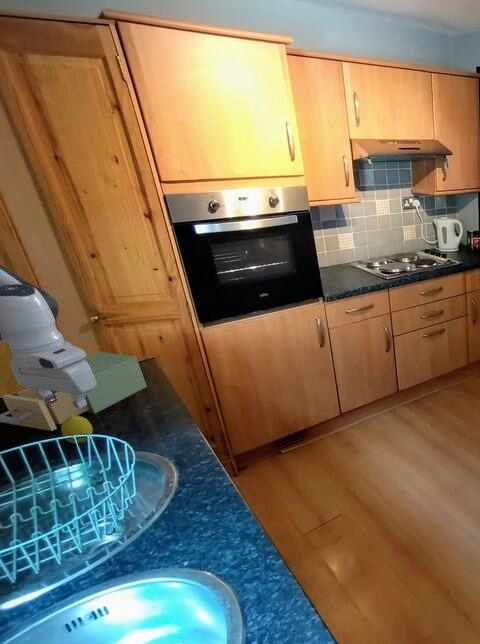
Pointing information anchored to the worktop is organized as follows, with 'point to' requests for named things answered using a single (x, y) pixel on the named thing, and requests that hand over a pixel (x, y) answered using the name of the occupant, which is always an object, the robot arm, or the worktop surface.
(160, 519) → the worktop surface
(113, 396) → the cabinet
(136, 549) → the worktop surface
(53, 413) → the drawer
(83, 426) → the lemon
